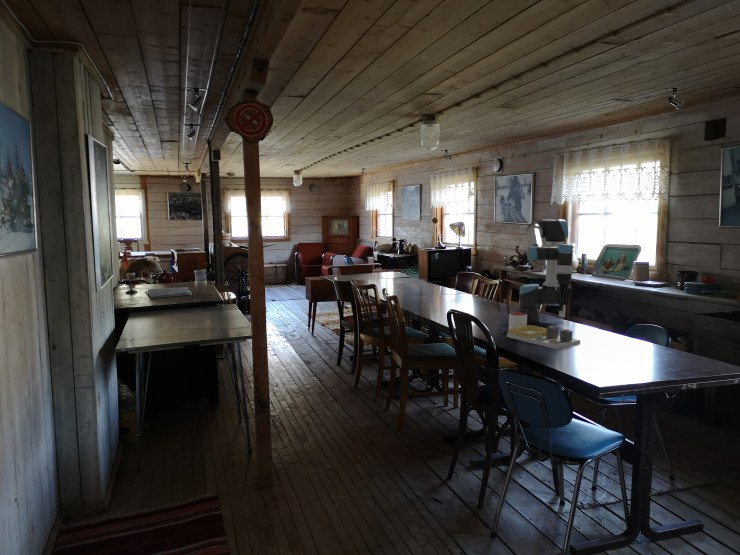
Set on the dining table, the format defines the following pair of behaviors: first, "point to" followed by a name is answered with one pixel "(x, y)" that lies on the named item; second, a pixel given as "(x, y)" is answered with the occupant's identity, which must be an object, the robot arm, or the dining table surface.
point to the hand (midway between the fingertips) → (561, 316)
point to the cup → (517, 320)
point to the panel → (546, 342)
